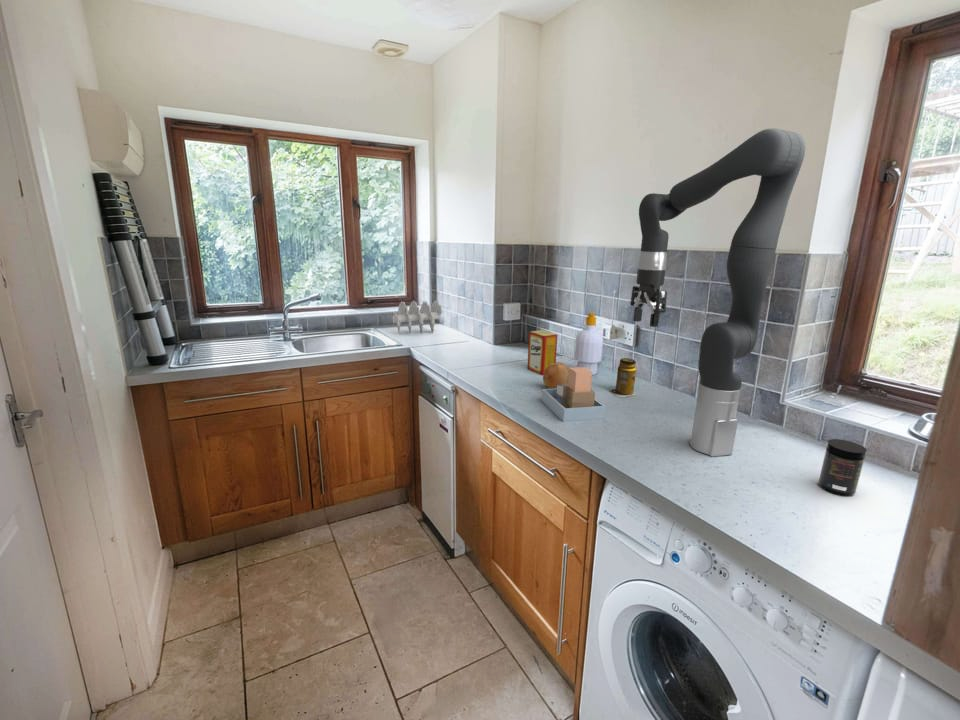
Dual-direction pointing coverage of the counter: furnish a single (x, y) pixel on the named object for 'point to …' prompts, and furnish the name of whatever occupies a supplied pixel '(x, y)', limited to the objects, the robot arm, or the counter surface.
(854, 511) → the counter surface
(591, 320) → the soap bottle
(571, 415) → the tote
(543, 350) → the baking soda box
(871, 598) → the counter surface
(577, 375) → the peach rectangular block
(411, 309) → the grey lumpy piece
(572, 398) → the walnut block
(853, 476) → the supplement container
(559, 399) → the grey tin
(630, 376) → the condiment
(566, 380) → the onion
